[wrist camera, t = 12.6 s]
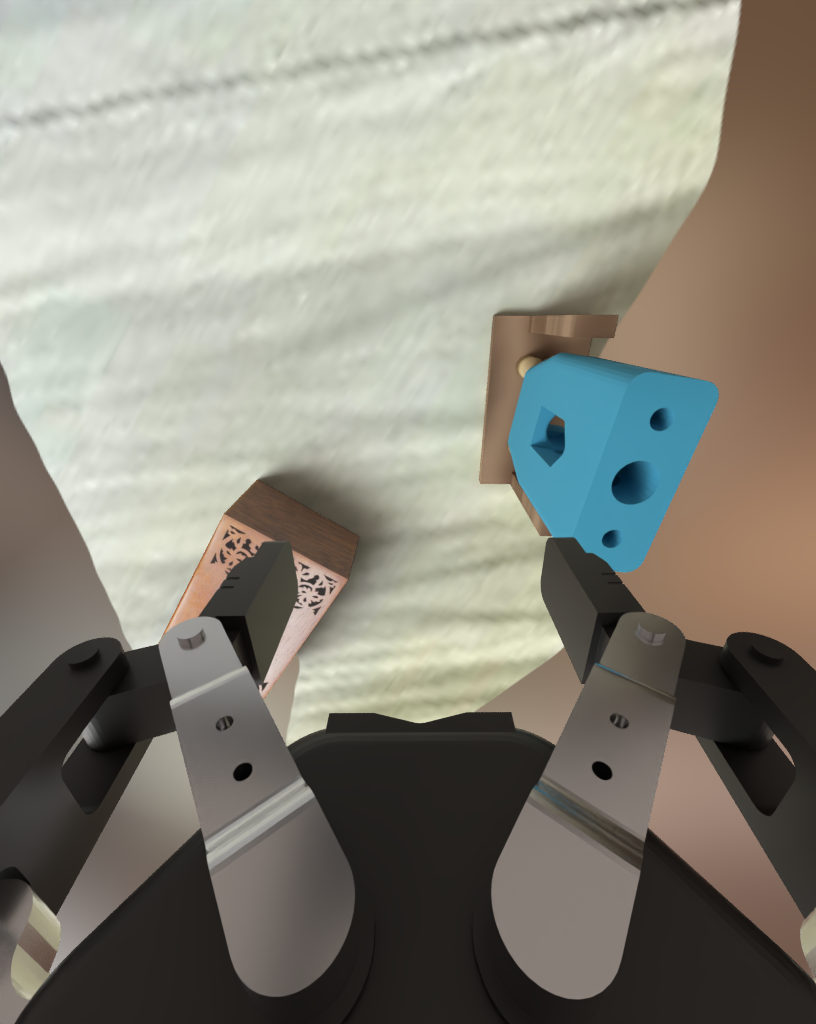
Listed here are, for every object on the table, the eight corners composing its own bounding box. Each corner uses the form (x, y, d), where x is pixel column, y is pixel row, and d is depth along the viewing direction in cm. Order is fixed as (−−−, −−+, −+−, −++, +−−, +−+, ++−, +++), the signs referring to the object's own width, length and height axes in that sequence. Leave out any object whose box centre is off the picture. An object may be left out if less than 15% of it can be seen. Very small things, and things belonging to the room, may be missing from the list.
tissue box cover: (275, 658, 63) (252, 715, 54) (185, 617, 60) (145, 670, 51) (359, 535, 53) (348, 579, 44) (258, 478, 50) (223, 513, 41)
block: (532, 345, 39) (633, 369, 21) (582, 354, 39) (725, 384, 21) (501, 463, 44) (562, 564, 26) (546, 470, 44) (637, 574, 26)
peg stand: (479, 480, 50) (501, 535, 37) (493, 315, 42) (527, 314, 29) (561, 480, 49) (612, 536, 37) (591, 316, 42) (667, 315, 29)
